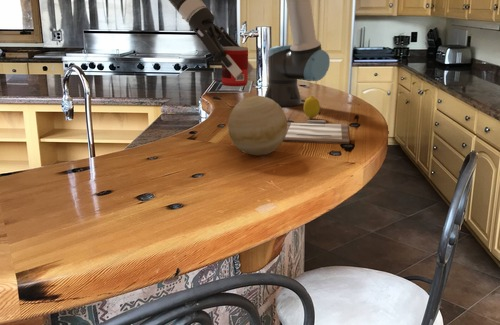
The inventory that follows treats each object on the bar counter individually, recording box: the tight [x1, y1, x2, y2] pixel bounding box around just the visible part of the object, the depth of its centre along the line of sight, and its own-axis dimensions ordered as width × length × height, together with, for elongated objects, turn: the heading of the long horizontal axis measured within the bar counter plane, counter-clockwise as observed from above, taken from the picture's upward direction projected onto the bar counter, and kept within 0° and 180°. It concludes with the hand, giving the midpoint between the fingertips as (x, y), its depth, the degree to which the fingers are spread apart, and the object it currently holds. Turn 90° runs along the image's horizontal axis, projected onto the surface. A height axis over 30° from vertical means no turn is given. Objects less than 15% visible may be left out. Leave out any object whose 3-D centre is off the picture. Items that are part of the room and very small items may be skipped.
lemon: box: [303, 95, 321, 120], centre depth 180 cm, size 6×6×8 cm
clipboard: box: [282, 119, 350, 145], centre depth 159 cm, size 26×20×2 cm
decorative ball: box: [227, 95, 288, 156], centre depth 132 cm, size 15×15×15 cm
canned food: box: [221, 46, 249, 87], centre depth 155 cm, size 8×8×11 cm
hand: (245, 73), depth 155 cm, fingers closed on canned food, 8 cm apart
